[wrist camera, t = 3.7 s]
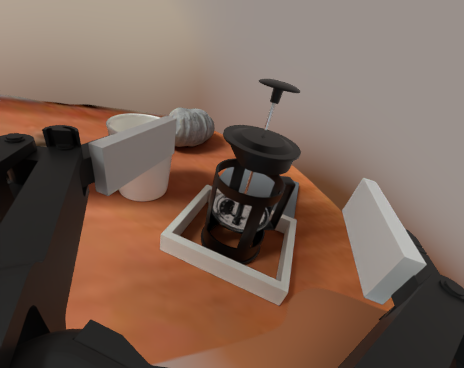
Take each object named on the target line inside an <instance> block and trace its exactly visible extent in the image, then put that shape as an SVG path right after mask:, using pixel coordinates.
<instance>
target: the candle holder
mask: <svg viewBox="0 0 464 368" xmlns="http://www.w3.org/2000/svg"><path fill="white" fill-rule="evenodd" d="M156 119H159V117H156V116H151V115H145V114H121V115H116V116H113V117H111V118H109V119H108V120H107V122H106V126H107V129H108V134H109V135H111V134H116V133H119V132H121V131H124V130H127V129H130V128H133V127H136V126H139V125H142V124H145V123H147V122H150V121H153V120H156ZM171 160H172V155H171V156H169V157H168V158H166V159H164V160H163V161H161V162H160V163H158V164H157V165H155V166H154V167H152V168H151V169H149V170H148V171H146V172H144V173H143V174H141V175H140V176H138V177H137V178H135V179H134V180H132V181H131V182H129V183H127V184H126V185H124V186H123V187H121V188H120V189H118V190H119V192H120V194H121V195H122V196H124V197H125V198H127V199H130V200H133V201H151V200H155V199H158V198H160V197H161V196H163V195H164V194H165V192H166V191H167V187H168V181H169V174H170V167H171Z"/></svg>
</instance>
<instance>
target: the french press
mask: <svg viewBox="0 0 464 368" xmlns="http://www.w3.org/2000/svg"><path fill="white" fill-rule="evenodd" d="M259 82H260V83H262V84H264V85H267V86H269V87H272V88H273V92H272V96H271V100H270V102H272V106H271V109H270V112H269V115H268V118H267V122H266V125H265V128H264V129H263V128H259V127H253V126H247V125H234V126H230V127H227V128H226V129H225V130H224V133H223V136H224V139H225V140H226V141H227V142H228V143H229V144H230V145H231V147H232V150H233V152H234V154H235V156H236V158H237V159H228V160H224V161H222V162H221V163H219V164H218V165H217V167H216V172H215V176H214V181H213V186H212V191H211V196H210V201H209V205H208V210H207V215H206V220H205V225H204V228H203V229H202V233H201V243H202V246H203V247H205V248H207V249H210V250H212V251H214V252H216V253H218V254H221V255H223V256H225V257H227V258H230V259H232V260H234V261H236V262H238V263H241V264H243V265H246V264H248V263H250V262H252V261H253V260H254V259H255V258H256V257H257V255H258V253H259V251H260V245H261V243H262V241H263V238H264V234H265V231H264V230H275V229H276V227H277V225H278V223H279V221H280V219H281V216H282V214H283V212H284V210H285V208H286V206H287V204H288V201H289V199H290V197H291V195H292V193H293V191H294V189H295V186H296V184H295V183H294V181H293V180H292V179H291V178H290V177H285V176H280V175H279V174H283V173H286V172H287V171H288V170H289V169H290V167H291V164H292V162H293V161H294V160H296V159H298V158H299V156H300V153H301V151H300V149H299V147H298V146H297V145H296V144H295V143H293V142H292V141H291V140H289V139H288V138H286V137H284V136H282V135H280V134H277V133H275V132H272V131H269V130H267V129H268V125H269V122H270V119H271V116H272V113H273V110H274V107H275V104H278V103H279V101H280V98H281V95H282V93H283V91H287V92H292V93H300V90H299V89H297V88H296V87H294V86H293V85H290V84H288V83H285V82H281V81H278V80H273V79H261V80H259ZM230 167H234V169H233V173H232V177H231V181H230V184H229V186H228V185H226V184H225V183H224V182H223V181H222V180H221V178H220V177H219V175H218V172H220V171H221V170H223V169H226V168H230ZM245 169H247V170H249V171H251V173H250V176H249V179H248V182H247V186H246V189H245V192H244V193H243V192H239V189H240V185H241V182H242V178H243V175H244V171H245ZM254 172H256V173H260V174H264V175H266V176H268V177H269V178H270V179H272V180H273V181H274V182H275V183H274V186H273V188H272V191H271V193H270V196H269V197H255V196H251V195H249V194H247V191H248V188H249V185H250V182H251V179H252V176H253V173H254ZM217 188H218V189H219V191H220V192H221V193H220V194H218V195H216V192H217ZM279 193H280V194H279ZM276 203H278V204H277V206H276V208H275V211H274V213H273V215H272V218H271V220H270V221H269V217H270V214H271V212H272V210H273V207H274V205H275V204H276ZM218 224H220V225H222V226H223V227H225V228H227V229H228V230H231V231H233V232H236V233H240V234H242V235H241V238H240V241H239V244H238V247H237V248H233V247H229V246H227V245H224V244H222V243H221V242H219V241H218V240H216V239H215V238H214V237H213V236H212V235H211V233H210V231H211V230H212V228H213V227H215V226H216V225H218ZM251 244H252V247H250V246H251Z"/></svg>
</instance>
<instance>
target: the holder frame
mask: <svg viewBox="0 0 464 368" xmlns="http://www.w3.org/2000/svg"><path fill="white" fill-rule="evenodd" d="M211 191H212V186H209V185H206V186H205V187H204V188H203V189H202V190H201V191H200V193H199V194H198V195H197V196H196V197H195V198H194V199H193V200H192V201H191V202H190V203H189V204H188V206H187V207H186V208H185V209H184V210H183V211H182V212H181V213H180V214H179V215H178V216H177V217H176V218H175V220H174V221H173V222H172V223H171V224H170V225H169V226H168V227H167V228H166V229H165V230H164V231H163V233H162V234H161V238H160V250H162V251H164V252H166V253H168V254H170V255H172V256H175V257H177V258H179V259H181V260H183V261H185V262H187V263H189V264H192V265H194V266H196V267H198V268H200V269H202V270H204V271H206V272H209V273H211V274H213V275H215V276H217V277H219V278H221V279H223V280H225V281H228V282H230V283H232V284H234V285H236V286H238V287H240V288H242V289H245V290H247V291H249V292H251V293H253V294H255V295H257V296H259V297H262V298H264V299H266V300H268V301H270V302H272V303H274V304H276V305H279V306H280V304H281V303H282V301H283V300H284V298H285V297H286V295H287V294H288V290H289V281H290V273H291V265H292V257H293V248H294V240H295V232H296V223H297V220H296V219H293V218H291V217H288V216H286V215H283V214H282V216H281V219H280V221H279V223H278V225H277V227H276V229H275V230H277V231H279V232H282V233H284V238H283V244H282V249H281V254H280V260H279V265H278V271H277V276H276V279H274V278H272V277H269V276H267V275H265V274H263V273H261V272H258V271H256V270H254V269H252V268H250V267H247V266H245V265H243V264H241V263H238V262H236V261H234V260H232V259H230V258H227V257H225V256H223V255H221V254H218V253H216V252H214V251H212V250H210V249H207V248H205V247H203V246H201V245H198V244H196V243H194V242H192V241H190V240H187V239H185V238H183V237H181V236H180V235H181V234H182V232H183V231H184V230H185V229H186V227H187V226H188V225H189V224H190V223H191V221H192V220H193V219H194V218H195V216H196V215H197V214H198V213H199V211H200V210H201V209H202V208H203V206H204V205H205V204H206V203H207V202H208V203H209V201H210V196H211ZM220 193H221V192H220V191H219V189H217V192H216V195H218V194H220ZM273 213H274V211H273V210H272V212H271V214H270V217H269V221H270V220H271V218H272V215H273Z"/></svg>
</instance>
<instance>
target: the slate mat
mask: <svg viewBox="0 0 464 368" xmlns="http://www.w3.org/2000/svg"><path fill="white" fill-rule="evenodd" d="M233 169H234V167H230V168H227V169H226V170H225V171H224V172H223V173H222V175H221V176H220V178H221V180H222V181H223V182H224V183H225V184H226V185H228V186H229V184H230V181H231V177H232V173H233ZM250 173H251V171H249V170H247V169H245V171H244V175H243V178H242V182H241V185H240V189H239V192H243V193H244V192H245V189H246V186H247V182H248V179H249V176H250ZM274 183H275V182H274V181H273V180H272V179H270V178H269V177H268V176H266V175H264V174H260V173H256V172H254V173H253V176H252V179H251V182H250V185H249V188H248V191H247V194H249V195H251V196H255V197H269V196H270V193H271V191H272V188H273V186H274ZM294 183H295V184H296V186H295V189H294V191H293V193H292V195H291V197H290V199H289V201H288V204H287V206H286V208H285V210H284V212H283V215H286V216H288V217H291V218H293V219H294V215H295V208H296V201H297V193H298V186H299V183H298V182H295V181H294ZM212 186H213V185H212ZM217 189H218V188H217ZM279 194H280V193H279ZM277 204H278V203H276V204H275V205H274V207H273V211H275V208H276V206H277Z"/></svg>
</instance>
